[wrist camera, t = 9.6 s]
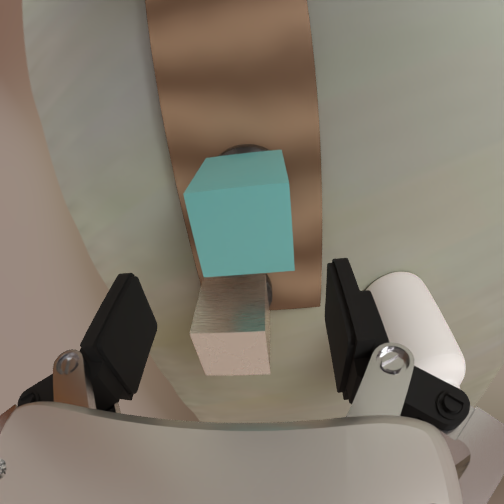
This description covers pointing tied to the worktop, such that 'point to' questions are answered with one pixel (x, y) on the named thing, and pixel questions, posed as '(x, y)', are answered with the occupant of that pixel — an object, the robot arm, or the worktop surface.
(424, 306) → the pill bottle
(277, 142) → the board
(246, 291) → the pale wooden cube
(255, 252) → the matte teal square block
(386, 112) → the worktop surface
